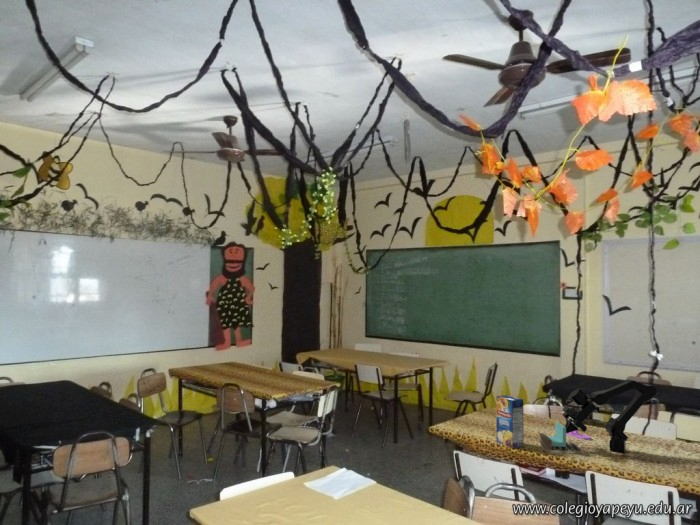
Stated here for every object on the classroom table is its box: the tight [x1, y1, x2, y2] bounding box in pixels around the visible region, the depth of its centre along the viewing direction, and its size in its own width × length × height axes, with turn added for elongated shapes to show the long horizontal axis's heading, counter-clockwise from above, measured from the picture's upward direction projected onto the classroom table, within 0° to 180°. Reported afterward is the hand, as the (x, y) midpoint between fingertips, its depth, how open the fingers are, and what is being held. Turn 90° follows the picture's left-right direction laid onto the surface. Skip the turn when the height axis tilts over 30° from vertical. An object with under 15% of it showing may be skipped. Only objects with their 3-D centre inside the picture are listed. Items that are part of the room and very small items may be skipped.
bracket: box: [566, 430, 592, 441], centre depth 282 cm, size 13×6×7 cm, turn 32°
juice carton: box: [496, 394, 525, 449], centre depth 266 cm, size 12×8×24 cm, turn 25°
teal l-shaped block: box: [546, 421, 567, 447], centre depth 259 cm, size 7×11×9 cm, turn 177°
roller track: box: [538, 432, 585, 455], centre depth 259 cm, size 18×13×6 cm
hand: (562, 433), depth 259 cm, fingers closed, pressing on teal l-shaped block
